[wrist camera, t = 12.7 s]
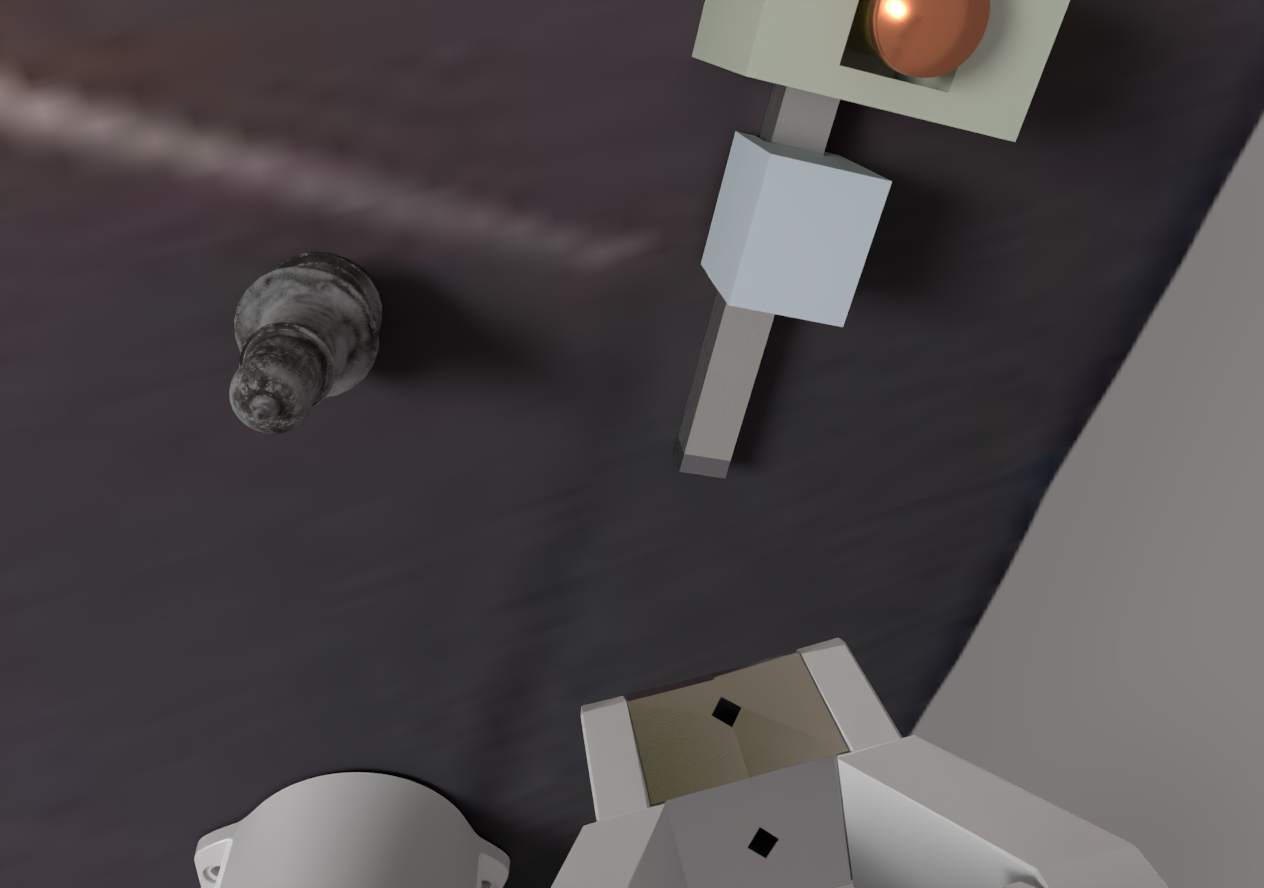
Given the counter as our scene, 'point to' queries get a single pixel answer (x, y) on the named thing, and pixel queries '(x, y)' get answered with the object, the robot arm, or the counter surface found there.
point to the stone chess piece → (302, 339)
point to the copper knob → (919, 33)
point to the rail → (742, 313)
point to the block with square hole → (822, 63)
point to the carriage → (792, 230)
